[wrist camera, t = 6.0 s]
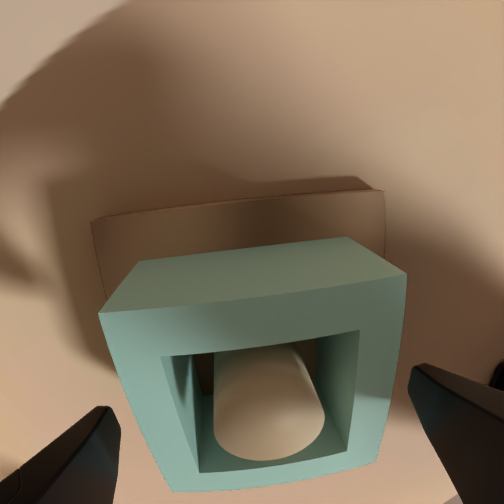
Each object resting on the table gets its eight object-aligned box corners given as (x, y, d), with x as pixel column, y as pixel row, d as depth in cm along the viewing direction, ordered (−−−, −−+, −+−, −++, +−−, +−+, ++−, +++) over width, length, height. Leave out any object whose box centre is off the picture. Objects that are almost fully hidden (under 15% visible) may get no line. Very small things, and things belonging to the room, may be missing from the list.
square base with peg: (374, 189, 11) (467, 210, 6) (362, 401, 14) (405, 478, 9) (98, 218, 10) (18, 259, 5) (156, 428, 13) (141, 516, 8)
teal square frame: (346, 236, 11) (407, 274, 7) (342, 395, 13) (375, 461, 9) (138, 261, 10) (97, 313, 6) (180, 417, 12) (172, 491, 8)
